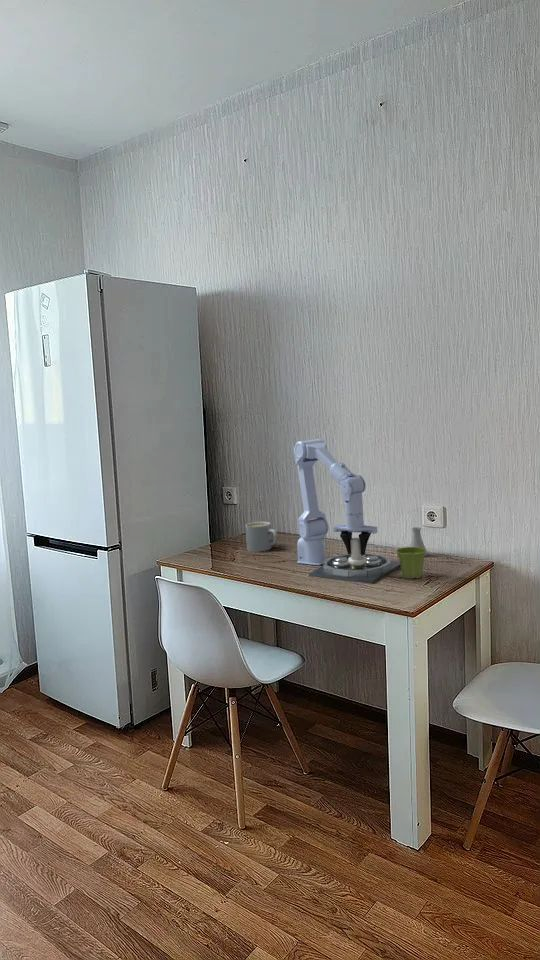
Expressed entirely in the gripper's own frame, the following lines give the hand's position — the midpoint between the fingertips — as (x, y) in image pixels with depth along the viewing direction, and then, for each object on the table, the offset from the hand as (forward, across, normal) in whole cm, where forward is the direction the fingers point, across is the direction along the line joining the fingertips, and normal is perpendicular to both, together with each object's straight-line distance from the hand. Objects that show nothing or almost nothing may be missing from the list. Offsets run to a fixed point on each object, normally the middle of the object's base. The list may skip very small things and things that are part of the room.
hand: (356, 553), depth 225 cm
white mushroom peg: (+3, 0, 0) cm, 3 cm away
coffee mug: (+7, +49, -25) cm, 56 cm away
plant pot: (+8, -17, -3) cm, 19 cm away
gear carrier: (+7, +2, -6) cm, 9 cm away
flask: (+8, -12, -29) cm, 32 cm away
